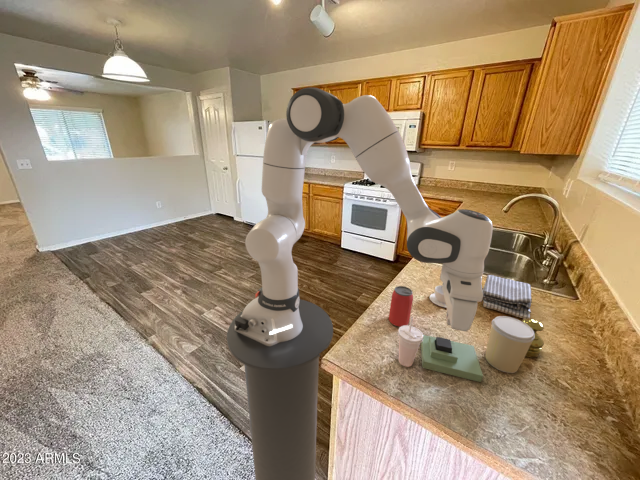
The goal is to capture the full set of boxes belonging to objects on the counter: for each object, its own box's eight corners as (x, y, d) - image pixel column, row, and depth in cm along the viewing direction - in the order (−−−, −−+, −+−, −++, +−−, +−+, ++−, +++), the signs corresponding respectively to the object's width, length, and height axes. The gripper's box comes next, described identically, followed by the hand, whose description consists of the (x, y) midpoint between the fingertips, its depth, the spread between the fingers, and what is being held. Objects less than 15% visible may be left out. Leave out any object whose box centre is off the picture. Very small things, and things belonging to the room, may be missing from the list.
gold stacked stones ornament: (541, 349, 78) (552, 321, 75) (536, 362, 73) (548, 333, 70) (511, 336, 83) (521, 309, 79) (505, 348, 78) (515, 320, 75)
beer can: (406, 330, 84) (411, 298, 80) (385, 323, 87) (390, 292, 83) (410, 319, 90) (416, 288, 85) (391, 313, 93) (395, 283, 88)
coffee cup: (511, 352, 77) (524, 318, 72) (528, 378, 68) (544, 341, 64) (477, 346, 78) (487, 312, 74) (489, 372, 70) (501, 335, 65)
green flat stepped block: (422, 367, 70) (424, 356, 69) (420, 340, 80) (422, 329, 79) (481, 382, 67) (485, 370, 65) (471, 351, 76) (475, 340, 75)
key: (436, 350, 72) (437, 345, 71) (435, 341, 75) (436, 336, 74) (450, 353, 71) (452, 348, 70) (449, 344, 74) (450, 339, 73)
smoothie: (409, 351, 76) (417, 310, 71) (422, 368, 70) (431, 325, 65) (389, 354, 75) (395, 312, 70) (400, 372, 69) (408, 328, 64)
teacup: (433, 307, 96) (435, 296, 95) (426, 292, 106) (428, 282, 104) (461, 310, 95) (464, 299, 94) (452, 295, 105) (454, 284, 103)
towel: (526, 298, 104) (532, 280, 101) (529, 322, 90) (536, 303, 87) (482, 286, 112) (487, 269, 109) (478, 306, 98) (483, 288, 95)
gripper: (441, 257, 75) (433, 299, 80) (452, 294, 57) (440, 345, 62) (466, 260, 73) (456, 303, 78) (485, 300, 55) (471, 352, 60)
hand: (449, 322), depth 70 cm, fingers closed
